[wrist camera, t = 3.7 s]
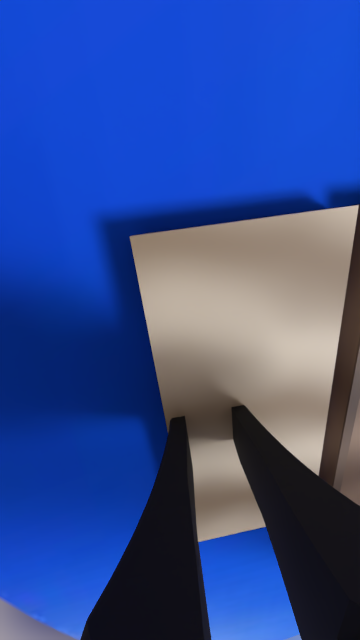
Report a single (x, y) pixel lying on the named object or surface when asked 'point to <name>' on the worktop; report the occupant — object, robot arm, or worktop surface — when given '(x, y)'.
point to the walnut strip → (346, 393)
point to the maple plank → (245, 341)
